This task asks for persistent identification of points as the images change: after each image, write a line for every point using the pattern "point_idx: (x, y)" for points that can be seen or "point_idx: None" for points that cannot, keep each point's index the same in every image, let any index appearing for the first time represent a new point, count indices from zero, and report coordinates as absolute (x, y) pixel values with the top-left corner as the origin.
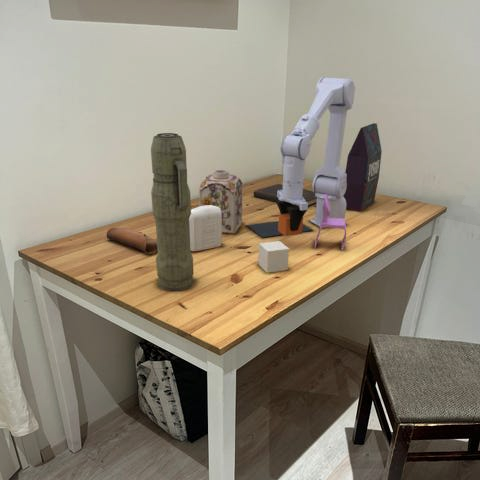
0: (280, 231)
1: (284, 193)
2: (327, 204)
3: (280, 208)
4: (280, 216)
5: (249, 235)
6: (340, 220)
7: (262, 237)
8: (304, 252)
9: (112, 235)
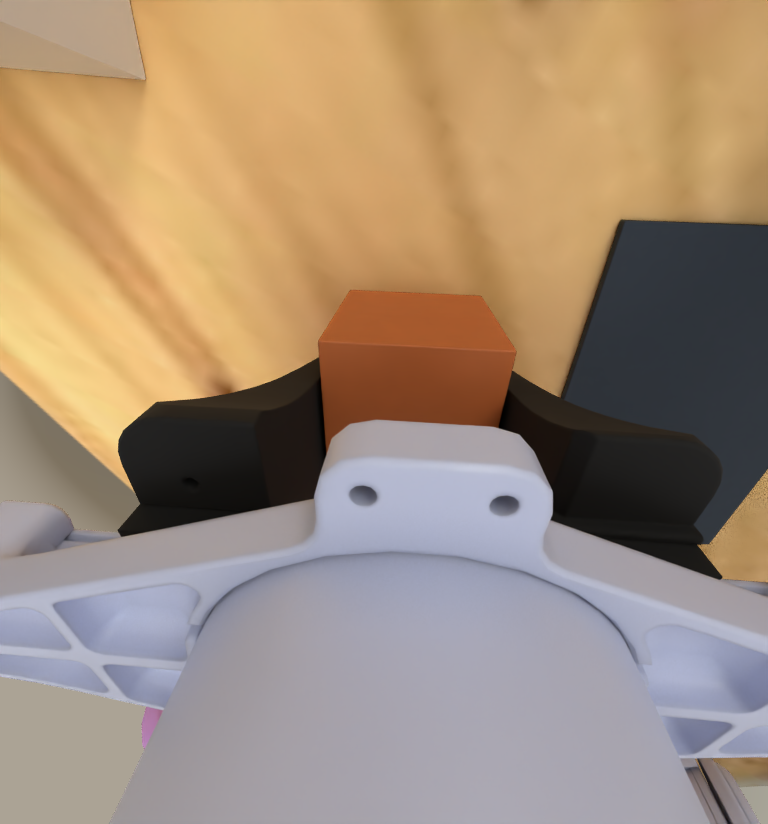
0: (434, 295)
1: (355, 717)
2: (142, 731)
3: (551, 416)
4: (464, 343)
5: (756, 140)
6: None
7: (622, 221)
8: (272, 349)
9: None
